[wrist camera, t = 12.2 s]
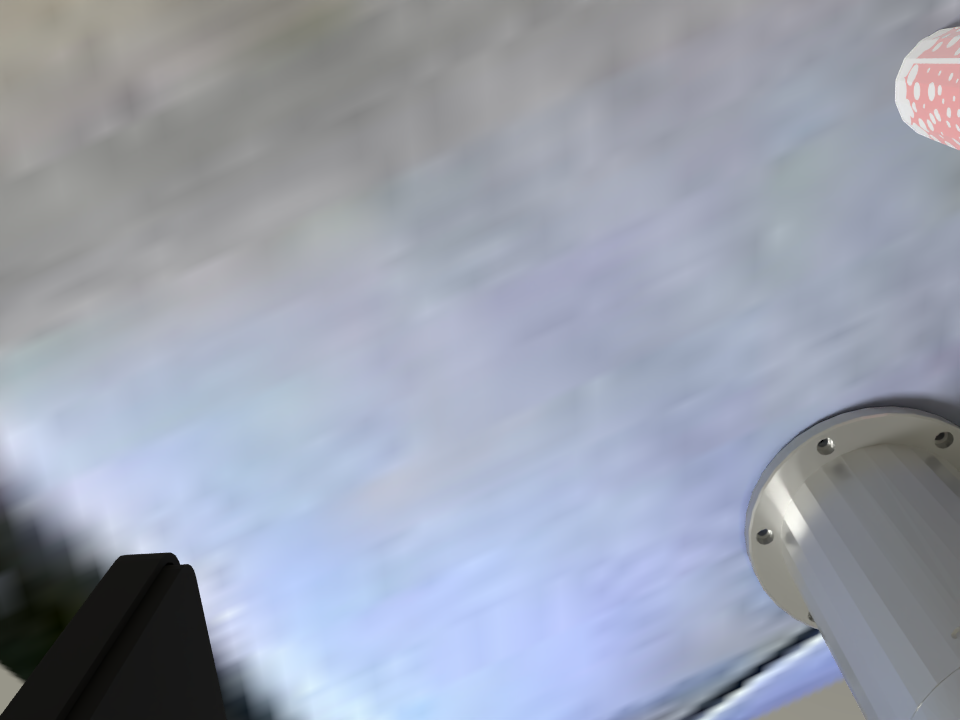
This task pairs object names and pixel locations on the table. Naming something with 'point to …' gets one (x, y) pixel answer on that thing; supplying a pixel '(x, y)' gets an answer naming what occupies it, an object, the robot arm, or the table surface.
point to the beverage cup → (932, 87)
